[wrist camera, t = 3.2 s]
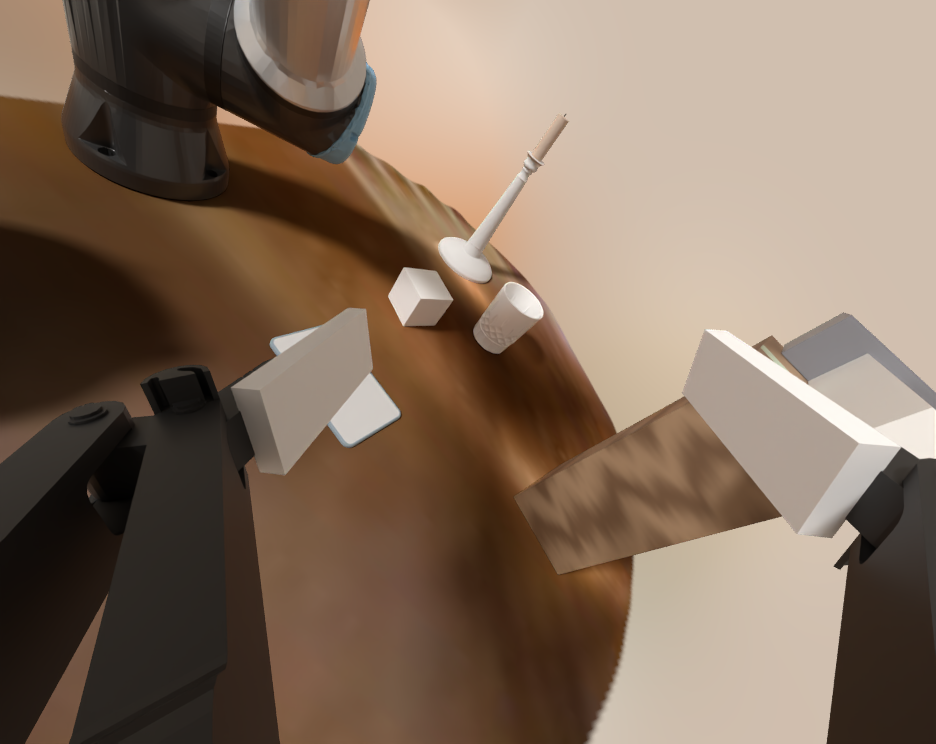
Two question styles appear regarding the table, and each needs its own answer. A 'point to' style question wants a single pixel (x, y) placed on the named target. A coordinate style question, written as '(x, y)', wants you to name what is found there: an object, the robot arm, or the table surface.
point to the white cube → (419, 297)
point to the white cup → (507, 318)
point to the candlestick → (495, 217)
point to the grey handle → (867, 382)
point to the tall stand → (646, 489)
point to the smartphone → (352, 402)
